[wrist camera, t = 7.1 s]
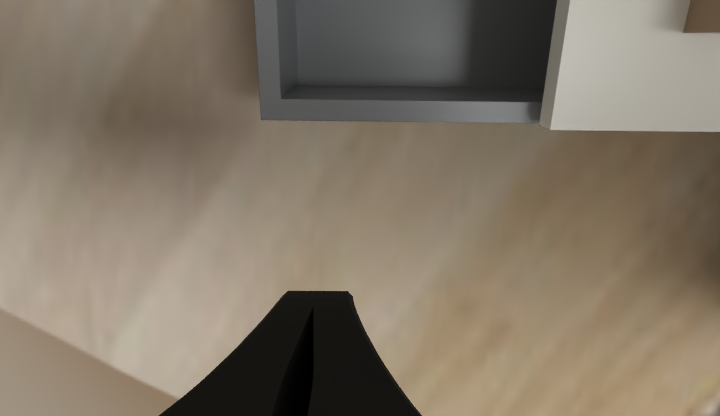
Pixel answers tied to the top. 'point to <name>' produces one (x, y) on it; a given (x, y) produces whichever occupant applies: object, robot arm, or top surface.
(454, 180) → the top surface
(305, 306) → the robot arm
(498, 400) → the top surface
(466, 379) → the top surface
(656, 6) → the lid
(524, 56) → the storage box
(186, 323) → the top surface
